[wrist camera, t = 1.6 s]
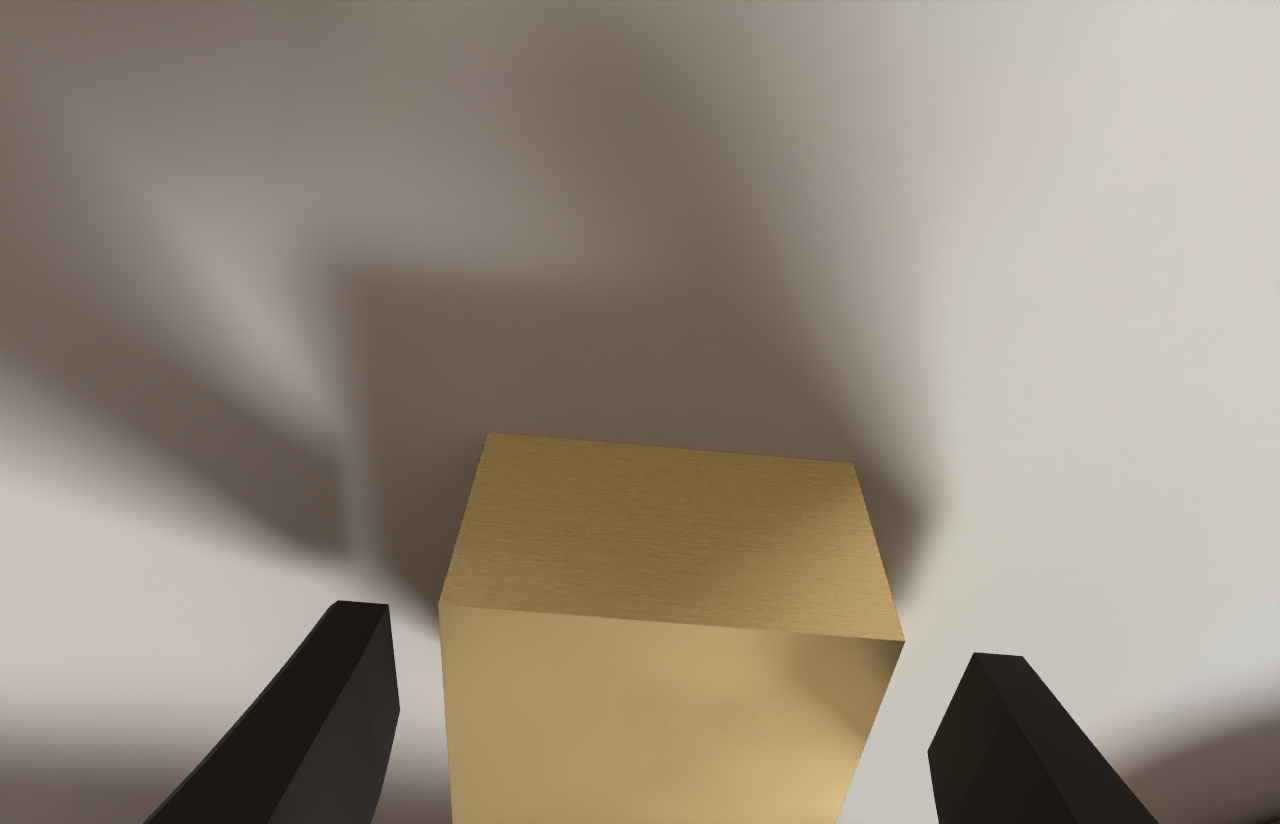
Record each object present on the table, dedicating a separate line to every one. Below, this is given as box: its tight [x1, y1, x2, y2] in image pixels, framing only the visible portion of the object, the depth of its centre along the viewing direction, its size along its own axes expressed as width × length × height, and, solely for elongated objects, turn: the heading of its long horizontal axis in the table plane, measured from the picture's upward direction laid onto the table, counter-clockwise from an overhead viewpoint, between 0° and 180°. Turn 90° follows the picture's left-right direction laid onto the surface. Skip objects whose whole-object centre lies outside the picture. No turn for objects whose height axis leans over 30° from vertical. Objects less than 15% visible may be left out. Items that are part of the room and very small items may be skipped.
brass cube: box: [438, 432, 905, 824], centre depth 11 cm, size 4×4×3 cm
